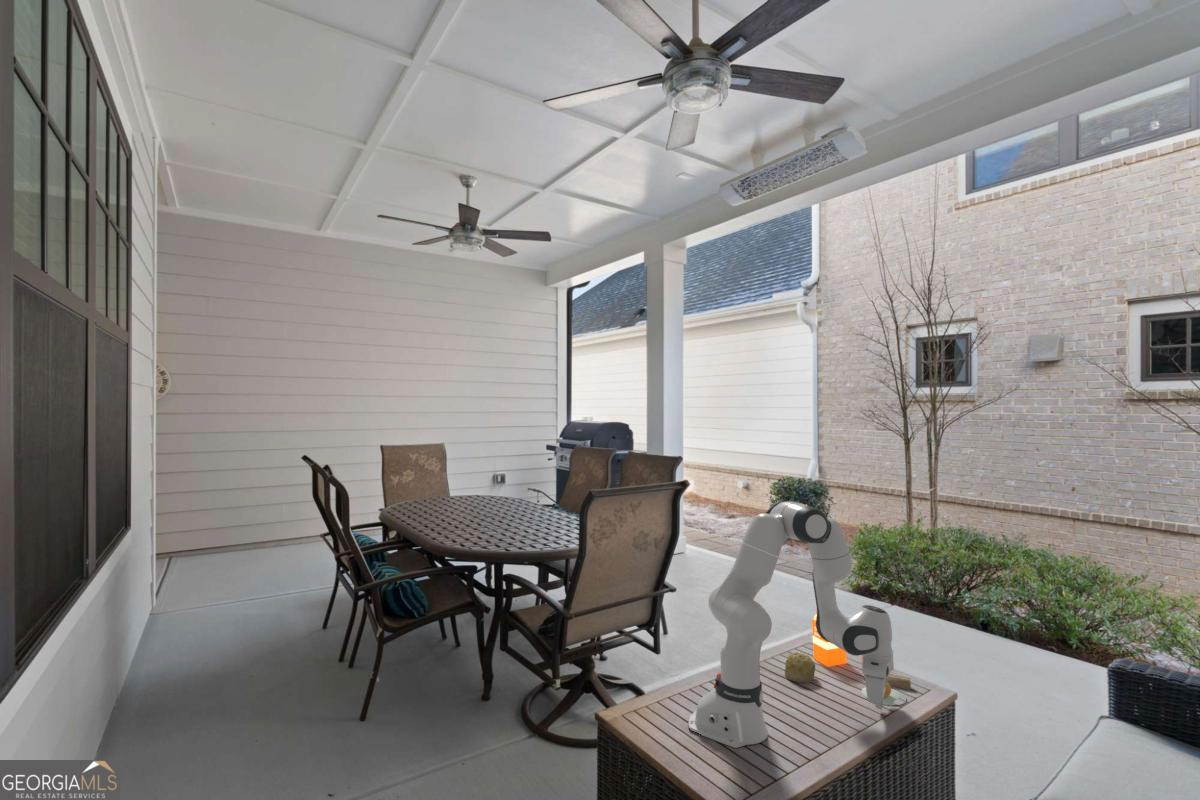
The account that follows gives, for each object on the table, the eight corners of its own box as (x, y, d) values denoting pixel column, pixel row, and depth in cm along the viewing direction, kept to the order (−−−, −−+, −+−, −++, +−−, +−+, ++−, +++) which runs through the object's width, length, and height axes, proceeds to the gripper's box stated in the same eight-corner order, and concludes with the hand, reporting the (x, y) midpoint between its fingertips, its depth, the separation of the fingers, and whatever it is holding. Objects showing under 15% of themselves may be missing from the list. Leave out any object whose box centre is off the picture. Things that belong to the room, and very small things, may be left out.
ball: (874, 698, 174) (874, 690, 172) (873, 683, 178) (873, 675, 175) (892, 701, 172) (891, 693, 169) (890, 685, 176) (890, 677, 173)
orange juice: (813, 658, 203) (811, 604, 204) (832, 655, 206) (830, 602, 207) (827, 666, 196) (825, 611, 197) (847, 663, 198) (844, 608, 200)
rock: (800, 680, 193) (785, 652, 197) (825, 672, 186) (809, 644, 190) (788, 692, 186) (772, 663, 190) (814, 684, 180) (798, 655, 183)
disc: (860, 700, 171) (860, 699, 171) (862, 683, 182) (862, 682, 183) (907, 709, 165) (907, 708, 165) (906, 691, 176) (906, 690, 176)
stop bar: (910, 689, 177) (910, 680, 178) (863, 679, 185) (863, 670, 185) (910, 687, 179) (910, 678, 179) (864, 677, 187) (864, 668, 187)
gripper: (870, 646, 175) (872, 690, 174) (861, 670, 158) (863, 718, 157) (892, 650, 172) (894, 695, 171) (885, 675, 155) (887, 724, 154)
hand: (879, 706), depth 164 cm, fingers closed
